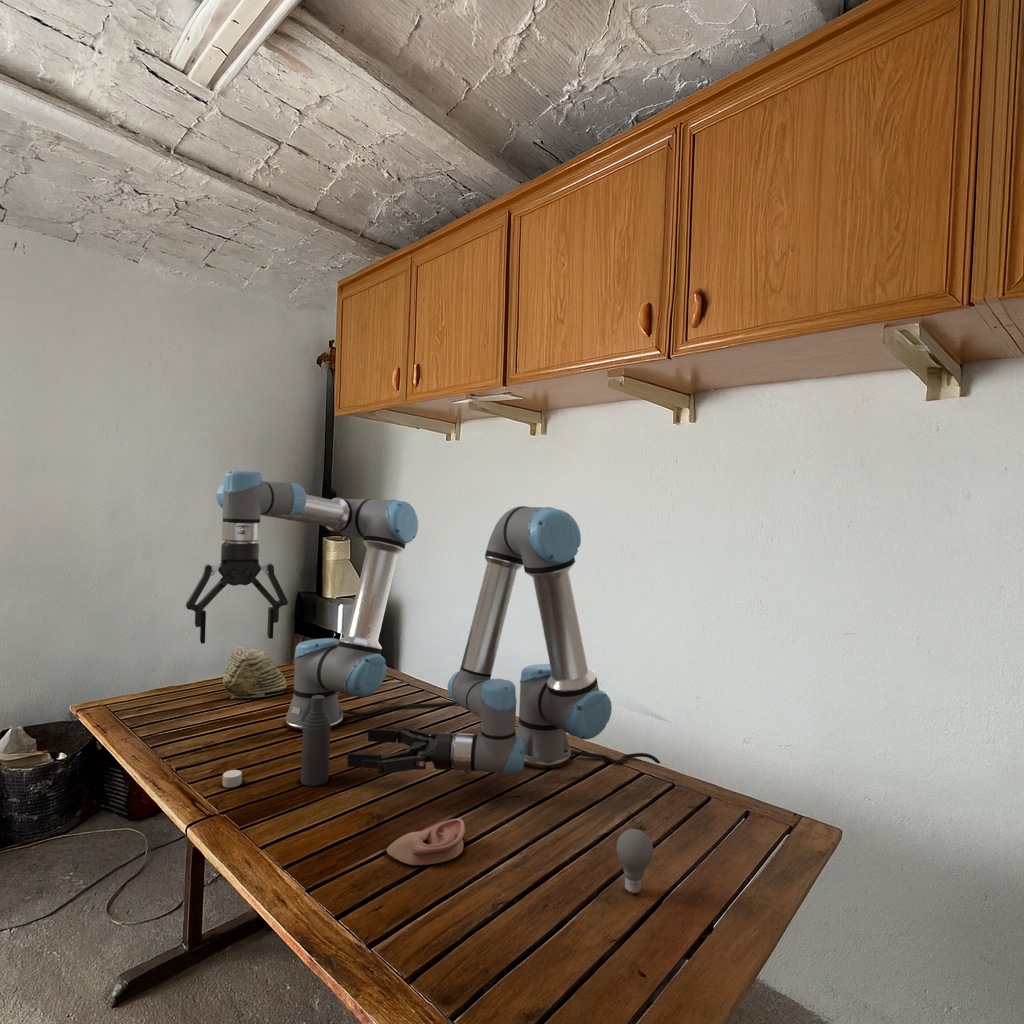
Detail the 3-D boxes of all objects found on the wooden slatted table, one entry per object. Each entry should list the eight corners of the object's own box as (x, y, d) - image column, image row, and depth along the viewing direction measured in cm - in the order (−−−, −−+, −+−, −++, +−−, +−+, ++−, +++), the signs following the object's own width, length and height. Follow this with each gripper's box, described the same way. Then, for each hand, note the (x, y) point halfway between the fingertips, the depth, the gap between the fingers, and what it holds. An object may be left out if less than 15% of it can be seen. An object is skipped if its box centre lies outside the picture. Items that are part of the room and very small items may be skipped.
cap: (239, 778, 141) (239, 768, 141) (243, 785, 137) (243, 775, 137) (220, 782, 138) (221, 772, 138) (224, 789, 135) (224, 778, 135)
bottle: (333, 776, 144) (336, 694, 143) (319, 787, 138) (322, 702, 137) (310, 772, 145) (313, 691, 145) (295, 783, 139) (298, 699, 139)
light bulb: (610, 879, 108) (613, 822, 108) (644, 879, 109) (647, 822, 109) (619, 902, 102) (622, 840, 102) (655, 901, 103) (658, 840, 103)
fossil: (218, 695, 195) (220, 647, 195) (278, 685, 208) (279, 640, 207) (228, 703, 189) (230, 653, 188) (289, 692, 201) (290, 645, 201)
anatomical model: (380, 837, 111) (404, 807, 122) (379, 860, 111) (403, 827, 122) (452, 849, 108) (470, 817, 120) (451, 872, 108) (469, 838, 120)
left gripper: (176, 543, 127) (172, 648, 128) (303, 543, 140) (300, 639, 141) (174, 540, 134) (171, 640, 134) (296, 541, 147) (292, 632, 147)
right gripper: (442, 796, 126) (338, 789, 128) (463, 745, 151) (376, 741, 153) (442, 758, 126) (338, 753, 127) (463, 714, 150) (376, 710, 152)
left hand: (237, 639), depth 137 cm, fingers open, 13 cm apart
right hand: (358, 746), depth 140 cm, fingers open, 13 cm apart
